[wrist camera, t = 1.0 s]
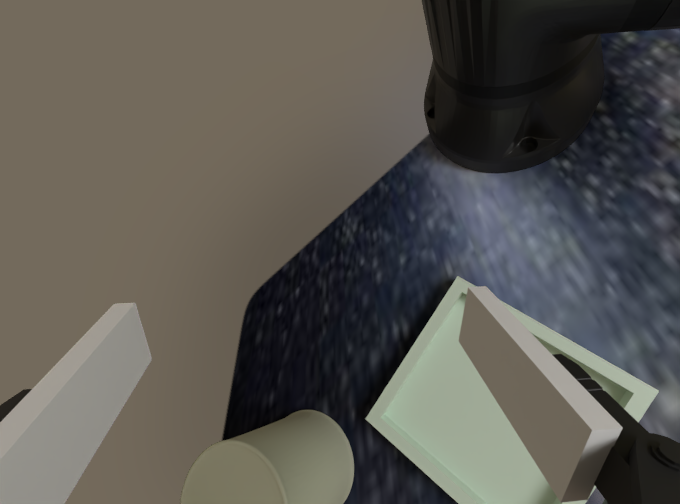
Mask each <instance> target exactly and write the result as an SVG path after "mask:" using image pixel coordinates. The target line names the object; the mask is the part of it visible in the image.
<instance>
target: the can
mask: <svg viewBox="0 0 680 504" xmlns="http://www.w3.org/2000/svg"><path fill="white" fill-rule="evenodd" d="M353 477H354V460H353V454H352V450H351V447H350V444H349V441H348V439H347V437H346V435H345V433H344V432H343V431H342V429H341V428H340V426H339V425H338V424H337V423H336V422H335V421H334V420H333V419H331V418H330V417H329V416H327V415H325V414H323V413H321V412H319V411H315V410H300V411H297V412H294V413H292V414H290V415H289V416H287V417H286V418H284V419H281V420H279V421H276V422H274V423H271V424H269V425H266V426H264V427H261V428H258V429H256V430H253V431H251V432H248V433H245V434H242V435H240V436H237V437H234V438H231V439H228V440H223V441H220V442H217V443H215V444H213V445H211V446H210V447H208V448H207V449H206V450H205V451H203V452H202V453H201V454H200V455H199V457H198V458H197V459H196V460H195V462H194V463H193V465H192V466H191V468H190V470H189V472H188V474H187V477H186V479H185V482H184V486H183V489H182V494H181V499H180V504H343V503H344V502H345V500H346V499H347V497H348V495H349V493H350V490H351V487H352V483H353Z"/></svg>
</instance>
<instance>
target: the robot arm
mask: <svg viewBox="0 0 680 504" xmlns="http://www.w3.org/2000/svg"><path fill="white" fill-rule="evenodd" d="M422 4H423V9H424V14H425V20H426V25H427V30H428V35H429V40H430V45H431V49H432V54H433V62H432V67H431V70H430V75H429V79H428V84H427V88H426V92H425V99H424V111H425V118H426V122H427V126H428V130H429V133H430V136H431V138H432V140H433V142H434V143H435V145H436V146H437V148H438V149H439V150H440V151H441V152H442V153H443V154H444V155H445V156H446V157H448V158H449V159H450V160H452V161H453V162H455V163H457V164H459V165H461V166H463V167H466V168H469V169H473V170H477V171H482V172H496V173H499V172H511V171H517V170H522V169H526V168H529V167H532V166H535V165H538V164H540V163H543V162H545V161H547V160H549V159H551V158H552V157H554V156H556V155H558V154H559V153H560V152H562V151H563V150H565V149H566V148H567V147H568V146H570V145H571V144H572V143H573V142H574V141H575V140H576V139H577V138H578V137H579V136H580V134H581V133H582V132H583V131H584V129H585V128H586V126H587V125H588V123H589V121H590V119H591V117H592V115H593V113H594V111H595V109H596V107H597V105H598V103H599V100H600V97H601V94H602V90H603V84H604V64H603V55H602V46H601V37H600V34H604V33H616V32H628V31H641V30H644V31H646V30H647V31H648V30H662V29H676V28H680V0H422ZM459 343H460V344H461V346H462V347H463V349H464V351H465V352H466V354H467V355H468V357H469V359H470V360H471V362H472V363H473V365H474V366H475V368H476V370H477V371H478V373H479V374H480V376H481V377H482V379H483V381H484V382H485V384H486V385H487V387H488V389H489V390H490V392H491V393H492V395H493V396H494V398H495V400H496V401H497V403H498V404H499V406H500V408H501V409H502V411H503V412H504V414H505V415H506V417H507V419H508V420H509V422H510V423H511V425H512V427H513V428H514V430H515V431H516V433H517V434H518V436H519V438H520V439H521V441H522V442H523V444H524V446H525V447H526V449H527V450H528V452H529V453H530V455H531V457H532V458H533V460H534V461H535V463H536V465H537V466H538V468H539V469H540V471H541V472H542V474H543V476H544V477H545V479H546V480H547V482H548V484H549V485H550V487H551V488H552V490H553V491H554V493H555V495H556V496H557V498H558V499H559V501H560V502H561V503H562V502H572V501H581V500H588V498H589V496H590V494H591V492H592V490H593V488H594V486H596V487H597V489H598V490H599V491H600V493H601V494H602V495H603V497H604V498H605V500H604V502H603V504H680V443H678V442H676V441H674V440H672V439H670V438H668V437H665V436H661V435H658V434H651V433H649V432H648V431H646V430H645V429H644V428H643V427H642V426H641V425H640V424H639V423H638V422H637V421H636V420H635V419H634V418H633V417H632V416H631V415H630V414H629V413H628V412H627V411H626V410H625V409H624V408H623V407H622V406H621V405H620V404H619V403H618V402H617V401H615V400H614V399H613V398H612V397H611V396H610V395H609V394H608V393H607V392H606V391H603V389H602V387H601V386H600V385H599V384H598V383H597V382H596V381H595V380H592V378H591V376H590V375H589V374H588V373H587V372H586V371H584V370H583V369H582V368H581V367H580V366H579V365H578V364H577V363H575V362H573V361H572V360H570V359H569V358H567V357H565V356H564V355H562V354H551V353H550V352H549V351H548V350H547V349H546V348H545V347H544V346H543V345H542V344H541V343H540V342H539V341H538V340H537V339H536V338H535V337H534V336H533V334H532V333H531V332H530V331H529V330H528V329H527V328H526V327H525V326H524V325H523V324H522V323H521V322H520V321H519V320H518V319H517V318H516V317H515V316H514V315H513V314H512V313H511V312H510V311H509V310H508V309H507V308H506V307H505V306H504V305H503V304H502V302H501V301H500V300H499V299H498V298H497V297H496V296H495V295H494V294H493V293H492V292H491V291H490V290H489V289H488V288H487V287H486V286H483V287H468V290H467V296H466V301H465V307H464V313H463V318H462V324H461V329H460V335H459ZM151 360H152V358H151V354H150V351H149V347H148V344H147V341H146V338H145V334H144V331H143V327H142V324H141V320H140V317H139V313H138V310H137V306H136V303H118V304H114V305H113V306H112V307H111V308H110V309H109V310H108V311H107V312H106V313H105V314H104V315H103V316H102V317H101V318H100V319H99V320H98V321H97V322H96V323H95V324H94V326H92V327H91V328H90V329H89V330H88V332H87V333H86V334H85V335H84V336H83V337H82V338H81V339H80V340H79V341H78V342H77V343H76V344H75V345H74V346H73V347H72V348H71V349H70V351H68V352H67V354H66V355H65V356H64V357H63V358H62V359H61V360H60V361H59V362H58V363H57V364H56V365H55V366H54V367H53V368H52V369H51V370H50V371H49V372H48V373H47V374H46V375H45V376H44V377H43V379H42V380H41V381H40V382H39V383H38V384H37V385H36V386H35V387H34V388H33V389H27V390H23V391H21V392H20V393H18V394H17V395H15V396H14V397H12V398H11V399H9V400H8V401H6V402H5V403H3V404H2V405H1V406H0V504H65V502H66V500H67V499H68V497H69V495H70V494H71V492H72V490H73V489H74V487H75V486H76V484H77V482H78V481H79V479H80V477H81V476H82V474H83V472H84V471H85V469H86V467H87V466H88V464H89V462H90V461H91V459H92V457H93V456H94V454H95V452H96V451H97V449H98V448H99V446H100V444H101V443H102V441H103V439H104V438H105V436H106V434H107V432H108V431H109V429H110V428H111V426H112V424H113V423H114V421H115V419H116V418H117V416H118V415H119V413H120V411H121V410H122V408H123V406H124V405H125V403H126V401H127V400H128V398H129V396H130V395H131V393H132V391H133V390H134V388H135V386H136V385H137V383H138V382H139V380H140V378H141V377H142V375H143V373H144V371H145V370H146V368H147V367H148V365H149V363H150V362H151Z"/></svg>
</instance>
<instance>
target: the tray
mask: <svg viewBox="0 0 680 504" xmlns="http://www.w3.org/2000/svg"><path fill="white" fill-rule="evenodd" d="M468 287H476V286H474V285H473V284H471V283H469V282H467V281H466V280H464V279H462V278H460V277H459V276H457V278H456V279H455V281H454V282H453V284H452V286H451V287H450V289H449V290H448V292H447V293H446V295H445V296H444V298H443V299H442V301H441V303H440V304H439V306H438V307H437V309H436V310H435V312H434V313H433V315H432V317H431V318H430V320H429V321H428V323H427V324H426V326H425V327H424V329H423V330H422V332H421V334H420V335H419V337H418V338H417V340H416V341H415V343H414V344H413V346H412V347H411V349H410V351H409V352H408V354H407V355H406V357H405V358H404V360H403V361H402V363H401V365H400V366H399V368H398V369H397V371H396V372H395V374H394V375H393V377H392V378H391V380H390V382H389V383H388V385H387V386H386V388H385V389H384V391H383V392H382V394H381V395H380V397H379V399H378V400H377V402H376V403H375V405H374V406H373V408H372V409H371V411H370V413H369V414H368V416H367V417H366V420H367V421H368V422H369V423H370V424H371V425H372V426H373V427H375V428H376V429H377V430H378V431H379V432H380V433H381V434H382V435H383V436H384V437H386V438H387V439H388V440H389V441H390V442H391V443H392V444H393V445H394V446H395V447H397V448H398V449H399V450H400V451H401V452H402V453H403V454H404V455H405V456H407V457H408V458H409V459H410V460H411V461H412V462H413V463H414V464H415V465H416V466H418V467H419V468H420V469H421V470H422V471H423V472H424V473H425V474H426V475H427V476H429V477H430V478H431V479H432V480H433V481H434V482H435V483H436V484H437V485H438V486H440V487H441V488H442V489H443V490H444V491H445V492H446V493H447V494H448V495H449V496H451V497H452V498H453V499H454V500H455V501H456V502H457V503H458V504H585V503H586V502H587V500H581V501H572V502H562V503H561V502H560V501H559V499H558V498H557V496H556V495H555V493H554V491H553V490H552V488H551V487H550V485H549V484H548V482H547V480H546V479H545V477H544V476H543V474H542V472H541V471H540V469H539V468H538V466H537V465H536V463H535V461H534V460H533V458H532V457H531V455H530V453H529V452H528V450H527V449H526V447H525V446H524V444H523V442H522V441H521V439H520V438H519V436H518V434H517V433H516V431H515V430H514V428H513V427H512V425H511V423H510V422H509V420H508V419H507V417H506V415H505V414H504V412H503V411H502V409H501V408H500V406H499V404H498V403H497V401H496V400H495V398H494V396H493V395H492V393H491V392H490V390H489V389H488V387H487V385H486V384H485V382H484V381H483V379H482V377H481V376H480V374H479V373H478V371H477V370H476V368H475V366H474V365H473V363H472V362H471V360H470V359H469V357H468V355H467V354H466V352H465V351H464V349H463V347H462V346H461V344H460V343H459V335H460V329H461V324H462V318H463V313H464V307H465V301H466V296H467V290H468ZM500 301H501V300H500ZM501 302H502V301H501ZM502 304H503V305H504V306H505V307H506V308H507V309H508V310H509V311H510V312H511V313H512V314H513V315H514V316H515V317H516V318H517V319H518V320H519V321H520V322H521V323H522V324H523V325H524V326H525V327H526V328H527V329H528V330H529V331H530V332H531V333H532V334H533V336H534V337H535V338H536V339H537V340H538V341H539V342H540V343H541V344H542V345H543V346H544V347H545V348H546V349H547V350H548V351H549V352H550V353H551V354H562V355H564V356H565V357H567V358H569V359H570V360H572V361H573V362H575V363H577V364H578V365H579V366H580V367H581V368H582V369H583V370H584V371H586V372H587V373H588V374H589V375H590V376H591V378H592V380H595V381H596V382H597V383H598V384H599V385H600V386H601V387H602V389H603V391H606V392H607V393H608V394H609V395H610V396H611V397H612V398H613V399H614V400H615V401H617V402H618V403H619V404H620V405H621V406H622V407H623V408H624V409H625V410H626V411H627V412H628V413H629V414H630V415H631V416H632V417H633V418H634V419H635V420H636V421H637V422H639V421H640V419H641V418H642V416H643V415H644V413H645V412H646V410H647V409H648V407H649V406H650V404H651V403H652V401H653V400H654V398H655V397H656V395H657V394H658V392H659V391H658V390H656V389H655V388H653V387H651V386H649V385H648V384H646V383H644V382H642V381H641V380H639V379H637V378H635V377H634V376H632V375H630V374H628V373H627V372H625V371H623V370H621V369H620V368H618V367H616V366H614V365H613V364H611V363H609V362H607V361H606V360H604V359H602V358H600V357H599V356H597V355H595V354H593V353H592V352H590V351H588V350H586V349H585V348H583V347H581V346H579V345H578V344H576V343H574V342H572V341H571V340H569V339H567V338H565V337H564V336H562V335H560V334H558V333H557V332H555V331H553V330H551V329H550V328H548V327H546V326H544V325H543V324H541V323H539V322H537V321H536V320H534V319H532V318H530V317H529V316H527V315H525V314H523V313H522V312H520V311H518V310H516V309H515V308H513V307H511V306H509V305H508V304H506V303H504V302H502ZM595 488H596V486H594V488H593V490H592V492H593V491H594V489H595ZM592 492H591V494H592ZM591 494H590V496H591ZM590 496H589V497H590ZM588 499H589V498H588Z"/></svg>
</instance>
